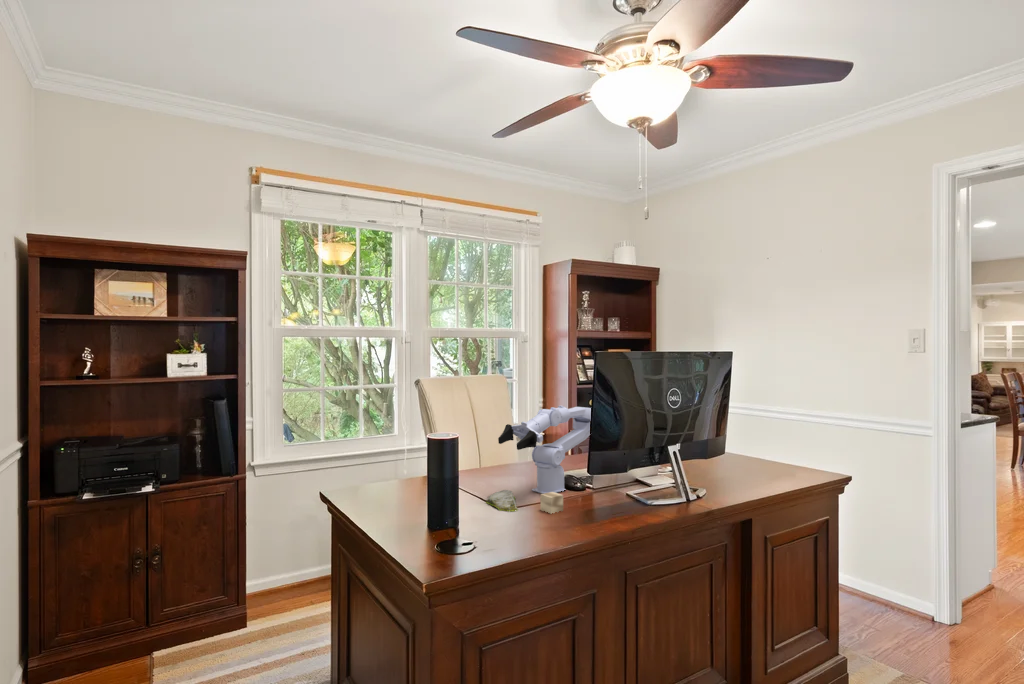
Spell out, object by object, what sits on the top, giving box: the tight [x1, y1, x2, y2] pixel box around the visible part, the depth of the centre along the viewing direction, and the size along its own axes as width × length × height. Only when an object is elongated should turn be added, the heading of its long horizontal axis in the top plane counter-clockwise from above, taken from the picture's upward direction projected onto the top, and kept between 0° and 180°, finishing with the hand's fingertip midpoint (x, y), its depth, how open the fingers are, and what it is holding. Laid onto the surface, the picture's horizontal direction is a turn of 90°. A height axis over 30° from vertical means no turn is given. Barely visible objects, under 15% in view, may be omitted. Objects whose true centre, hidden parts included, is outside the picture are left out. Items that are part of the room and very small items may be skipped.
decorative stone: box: [485, 489, 519, 513], centre depth 186 cm, size 23×10×4 cm, turn 6°
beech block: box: [539, 492, 564, 515], centre depth 176 cm, size 5×5×5 cm
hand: (508, 443), depth 183 cm, fingers open, 7 cm apart
